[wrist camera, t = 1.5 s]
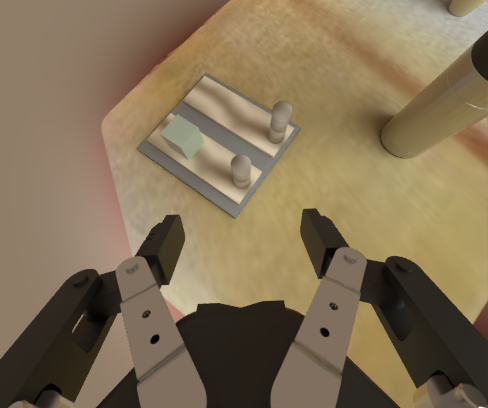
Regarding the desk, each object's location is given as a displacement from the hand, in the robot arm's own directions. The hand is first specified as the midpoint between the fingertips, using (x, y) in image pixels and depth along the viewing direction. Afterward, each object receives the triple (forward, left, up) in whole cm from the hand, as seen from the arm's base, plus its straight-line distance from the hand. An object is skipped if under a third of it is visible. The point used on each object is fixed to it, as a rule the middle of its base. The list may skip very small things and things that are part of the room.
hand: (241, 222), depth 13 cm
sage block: (-9, -21, -23) cm, 32 cm away
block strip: (-9, -17, -24) cm, 31 cm away
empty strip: (-21, -17, -24) cm, 36 cm away
